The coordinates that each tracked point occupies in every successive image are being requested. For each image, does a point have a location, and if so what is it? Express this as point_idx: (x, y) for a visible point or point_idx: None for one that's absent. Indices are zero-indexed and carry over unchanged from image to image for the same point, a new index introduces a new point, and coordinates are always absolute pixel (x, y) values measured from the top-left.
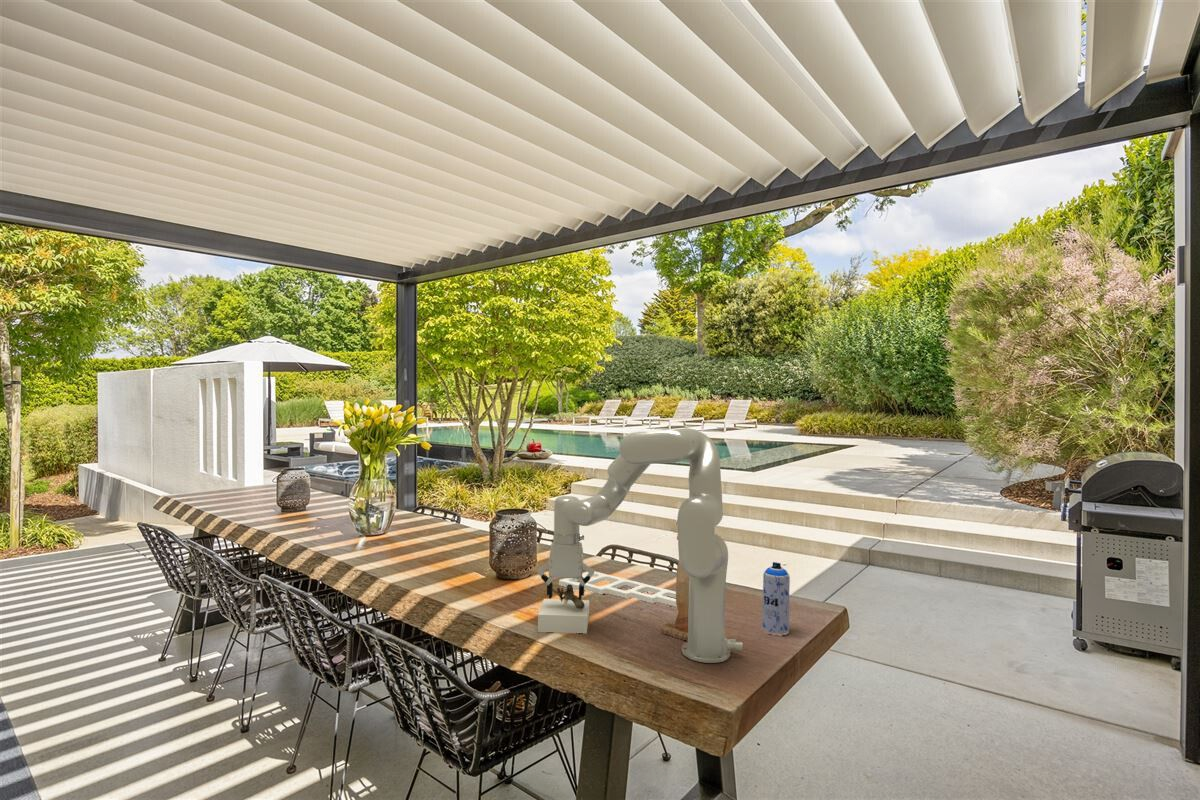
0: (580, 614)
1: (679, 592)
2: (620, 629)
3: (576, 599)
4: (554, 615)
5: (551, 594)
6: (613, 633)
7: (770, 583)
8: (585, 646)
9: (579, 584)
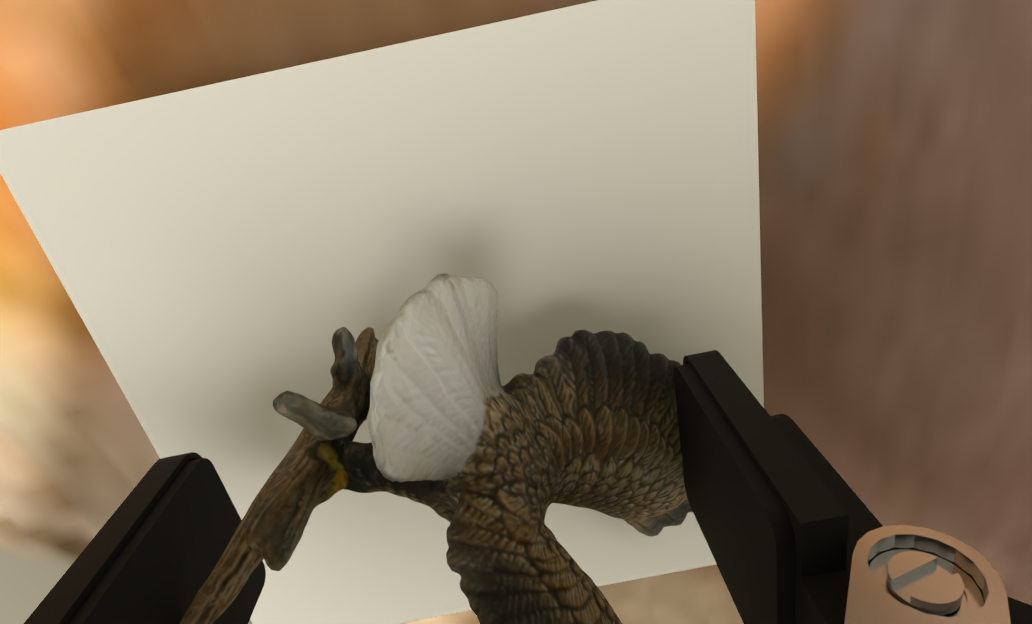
0: (692, 536)
1: None
2: (995, 272)
3: (651, 506)
4: (432, 614)
5: (240, 616)
6: (921, 372)
7: None
8: (717, 612)
9: (778, 585)
